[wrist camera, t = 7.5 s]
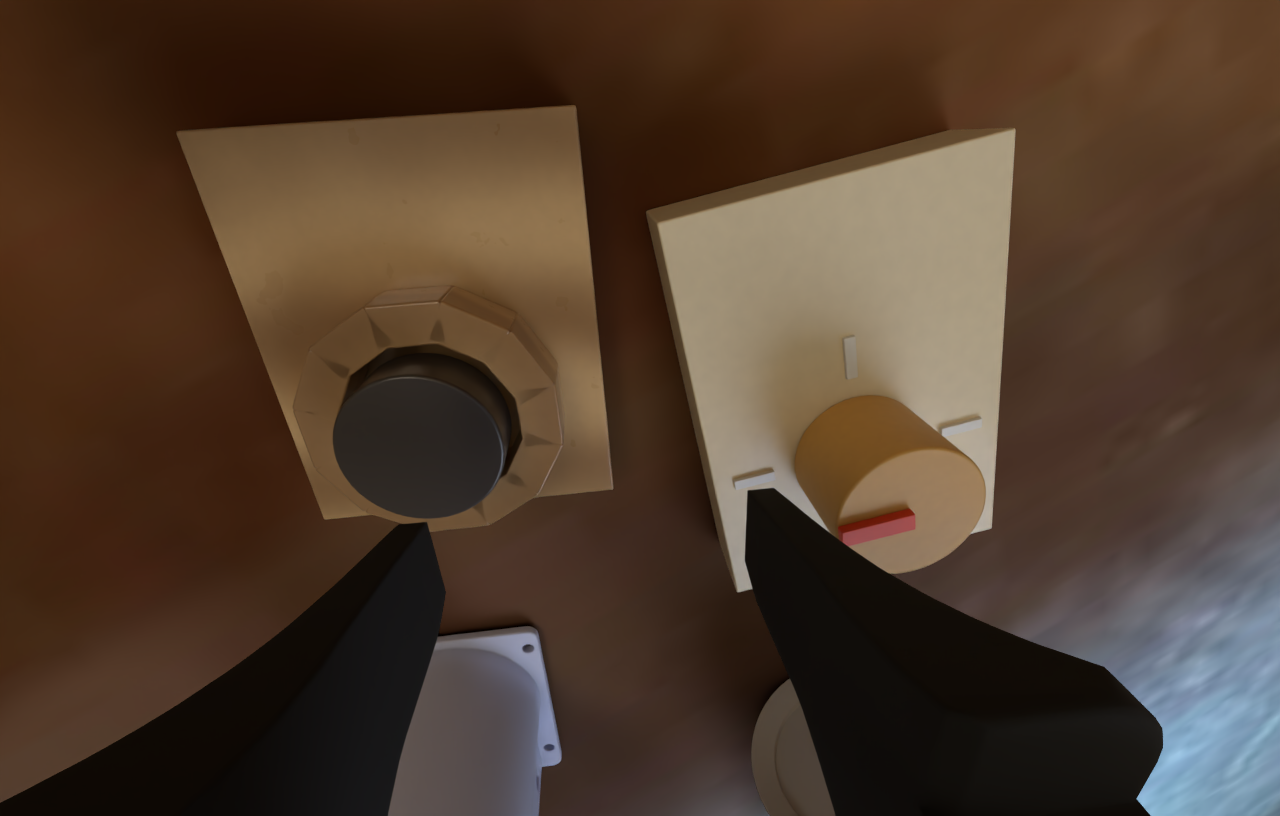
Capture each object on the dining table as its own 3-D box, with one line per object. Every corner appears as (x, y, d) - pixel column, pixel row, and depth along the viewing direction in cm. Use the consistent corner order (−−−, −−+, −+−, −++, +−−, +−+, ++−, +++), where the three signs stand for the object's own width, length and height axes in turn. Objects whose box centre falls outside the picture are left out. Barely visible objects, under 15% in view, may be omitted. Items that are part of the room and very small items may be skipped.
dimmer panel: (945, 485, 24) (995, 531, 21) (719, 542, 24) (737, 596, 21) (950, 129, 18) (1021, 127, 15) (644, 210, 18) (657, 223, 15)
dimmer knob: (919, 379, 18) (998, 435, 14) (920, 488, 20) (991, 560, 16) (786, 413, 18) (834, 477, 15) (800, 519, 20) (846, 597, 16)
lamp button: (522, 477, 17) (516, 510, 16) (378, 492, 17) (358, 528, 16) (498, 344, 15) (488, 367, 14) (336, 359, 15) (307, 384, 14)
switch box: (610, 458, 22) (616, 521, 18) (348, 485, 21) (299, 556, 17) (576, 109, 16) (575, 99, 13) (224, 132, 16) (119, 128, 12)
